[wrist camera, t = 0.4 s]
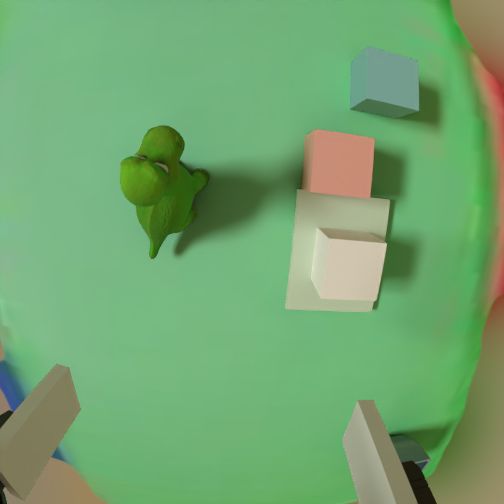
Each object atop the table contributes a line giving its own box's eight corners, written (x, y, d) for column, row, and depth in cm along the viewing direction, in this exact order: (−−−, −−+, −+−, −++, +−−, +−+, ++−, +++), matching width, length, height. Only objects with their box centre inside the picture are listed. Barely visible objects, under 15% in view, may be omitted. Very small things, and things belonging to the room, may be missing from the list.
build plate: (296, 188, 34) (306, 192, 27) (386, 199, 34) (414, 205, 27) (285, 305, 37) (290, 333, 31) (369, 308, 37) (388, 334, 31)
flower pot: (414, 425, 43) (432, 459, 35) (396, 455, 46) (410, 487, 37) (373, 430, 43) (388, 467, 35) (357, 460, 46) (367, 495, 37)
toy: (223, 150, 33) (198, 134, 19) (180, 262, 36) (135, 319, 22) (174, 133, 33) (120, 109, 18) (135, 244, 36) (70, 287, 21)
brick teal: (350, 63, 30) (366, 46, 24) (395, 74, 30) (417, 60, 24) (349, 109, 32) (366, 98, 26) (395, 118, 32) (419, 110, 26)
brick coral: (305, 136, 33) (315, 129, 27) (356, 143, 33) (374, 138, 27) (301, 189, 34) (310, 192, 28) (351, 194, 34) (369, 199, 28)
